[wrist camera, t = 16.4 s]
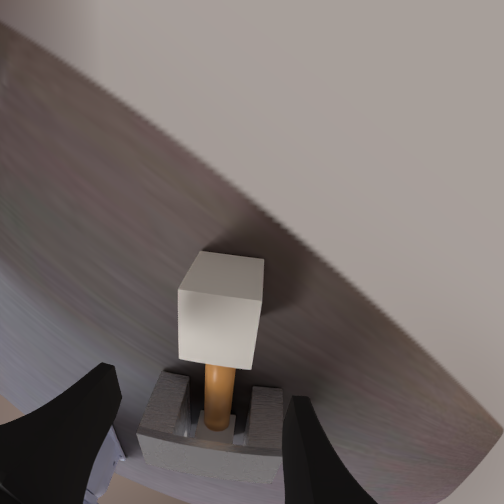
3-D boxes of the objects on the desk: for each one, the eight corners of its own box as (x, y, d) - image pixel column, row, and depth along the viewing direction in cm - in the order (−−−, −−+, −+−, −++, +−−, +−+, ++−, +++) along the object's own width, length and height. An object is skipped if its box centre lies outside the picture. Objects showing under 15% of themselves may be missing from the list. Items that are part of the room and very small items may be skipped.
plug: (236, 437, 26) (231, 478, 21) (197, 431, 26) (187, 471, 21) (264, 259, 19) (262, 300, 14) (199, 250, 19) (178, 289, 14)
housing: (268, 436, 25) (266, 493, 19) (167, 421, 26) (150, 475, 19) (282, 388, 23) (283, 456, 16) (161, 370, 23) (136, 433, 17)
